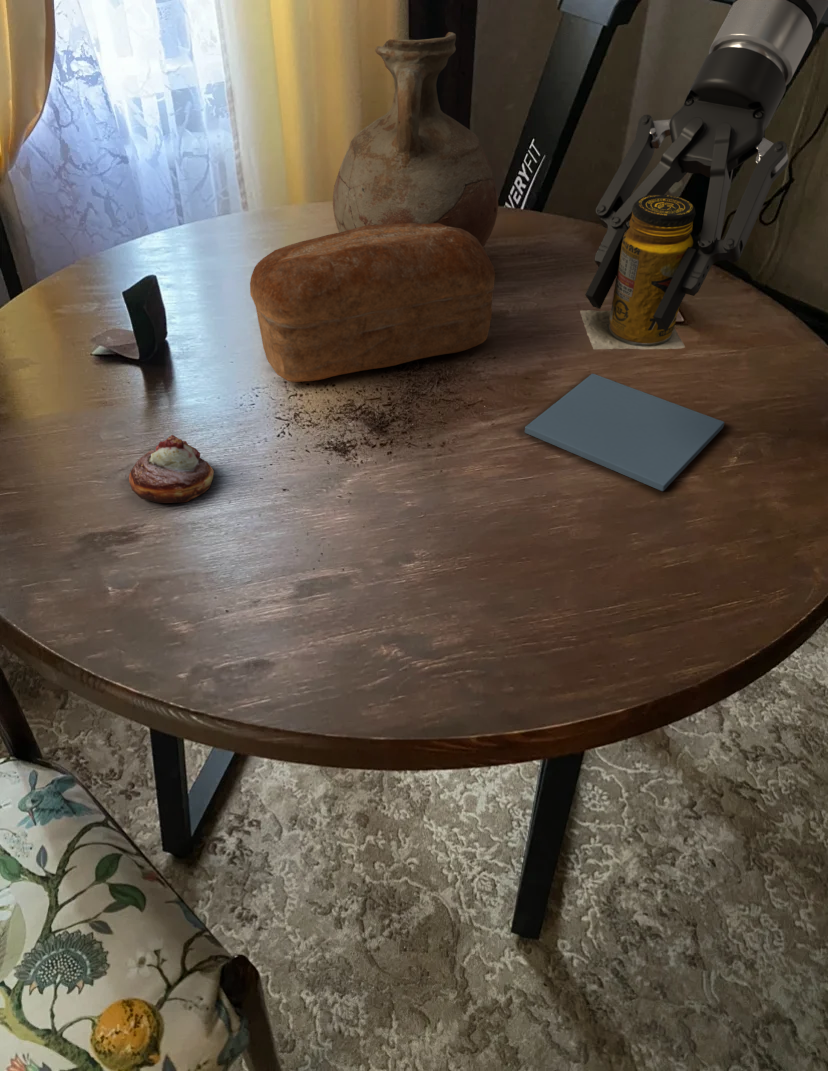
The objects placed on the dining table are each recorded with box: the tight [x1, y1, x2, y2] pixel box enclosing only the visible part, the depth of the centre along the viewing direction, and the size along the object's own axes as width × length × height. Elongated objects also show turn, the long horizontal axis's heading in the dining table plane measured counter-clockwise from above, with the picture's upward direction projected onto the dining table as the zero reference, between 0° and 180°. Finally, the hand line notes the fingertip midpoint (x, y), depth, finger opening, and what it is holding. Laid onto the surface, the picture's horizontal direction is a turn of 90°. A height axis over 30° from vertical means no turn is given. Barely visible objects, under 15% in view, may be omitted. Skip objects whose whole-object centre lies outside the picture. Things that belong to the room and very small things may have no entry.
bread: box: [249, 223, 496, 383], centre depth 97 cm, size 12×28×14 cm, turn 111°
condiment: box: [579, 194, 697, 350], centre depth 75 cm, size 7×8×12 cm
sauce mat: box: [524, 373, 725, 492], centre depth 89 cm, size 16×14×1 cm
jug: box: [332, 31, 499, 248], centre depth 107 cm, size 22×22×30 cm
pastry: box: [128, 434, 215, 504], centre depth 81 cm, size 8×8×5 cm
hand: (626, 312), depth 75 cm, fingers closed on condiment, 6 cm apart
